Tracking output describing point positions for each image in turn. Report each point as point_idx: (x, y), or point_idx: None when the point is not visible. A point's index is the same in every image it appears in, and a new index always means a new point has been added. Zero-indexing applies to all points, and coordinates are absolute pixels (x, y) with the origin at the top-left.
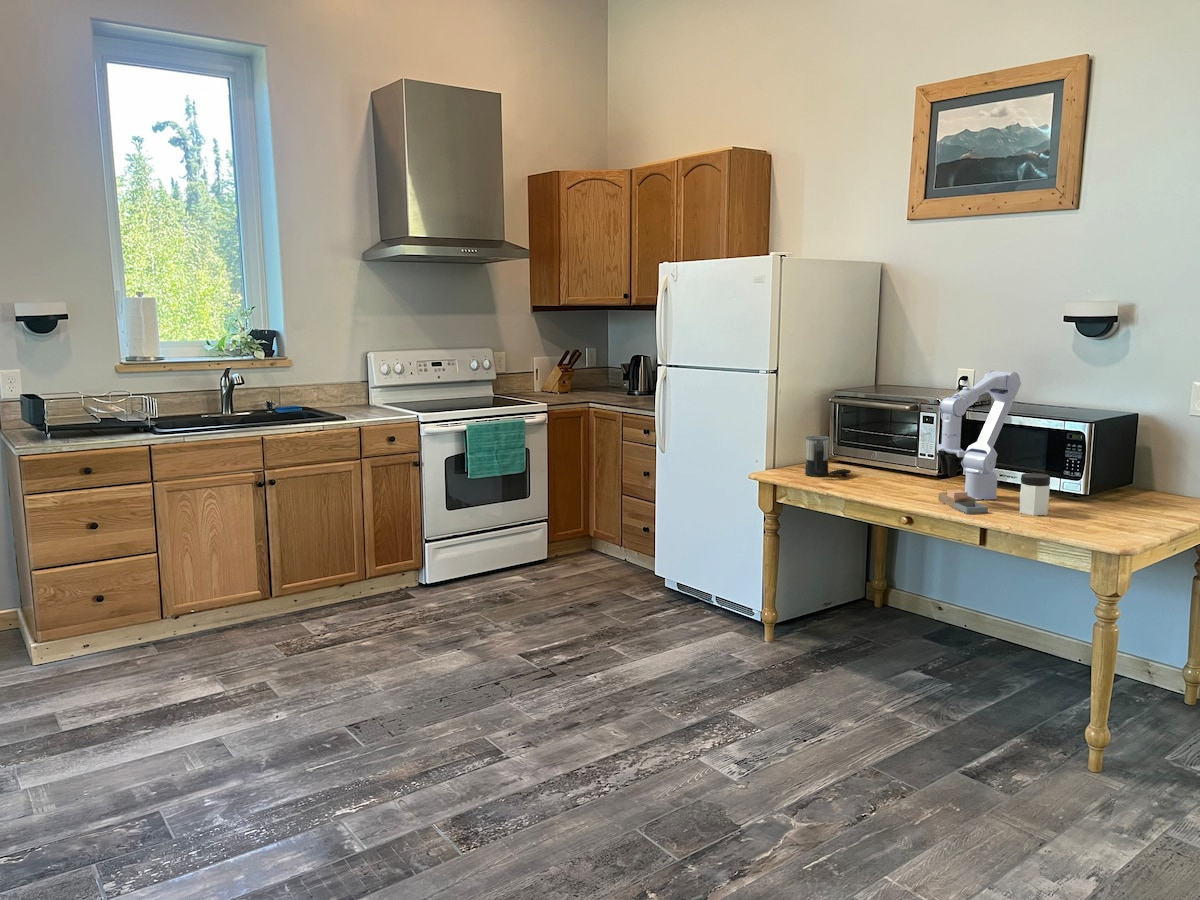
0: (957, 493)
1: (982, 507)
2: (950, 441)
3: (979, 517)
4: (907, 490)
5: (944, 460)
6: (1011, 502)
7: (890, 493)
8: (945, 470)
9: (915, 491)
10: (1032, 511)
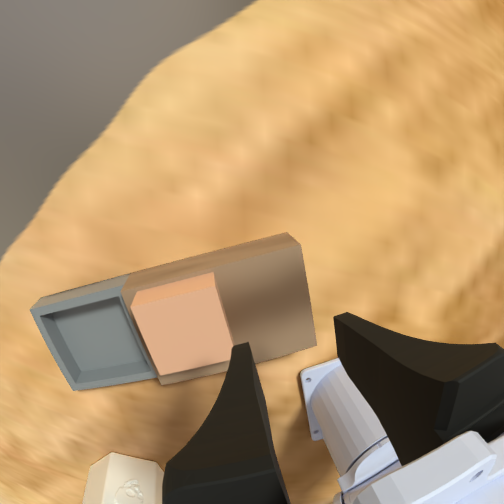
0: (138, 322)
1: (62, 371)
2: None
3: (11, 328)
4: (476, 159)
5: (396, 388)
6: None
7: (433, 68)
8: (346, 343)
9: (463, 185)
10: (90, 472)
